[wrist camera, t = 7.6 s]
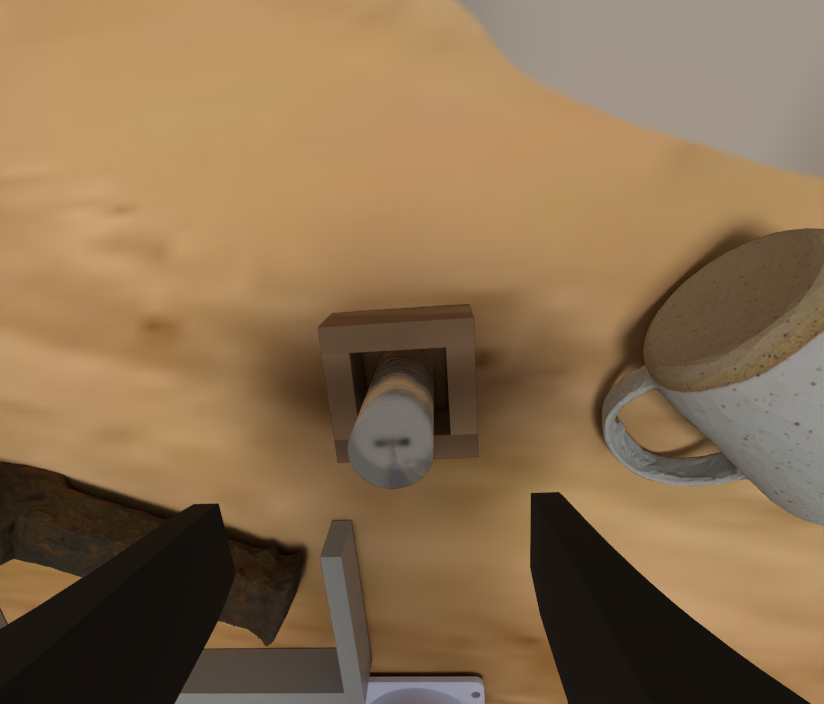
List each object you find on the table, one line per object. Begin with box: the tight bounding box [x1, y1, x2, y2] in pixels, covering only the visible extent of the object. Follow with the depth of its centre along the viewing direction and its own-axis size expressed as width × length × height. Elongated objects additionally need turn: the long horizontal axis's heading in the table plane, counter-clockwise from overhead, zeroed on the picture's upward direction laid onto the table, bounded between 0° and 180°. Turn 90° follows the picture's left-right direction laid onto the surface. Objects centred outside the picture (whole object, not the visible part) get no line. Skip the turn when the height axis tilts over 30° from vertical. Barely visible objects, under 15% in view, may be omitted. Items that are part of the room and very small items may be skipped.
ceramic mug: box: [602, 228, 824, 526], centre depth 15 cm, size 11×8×8 cm
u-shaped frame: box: [0, 520, 372, 704], centre depth 24 cm, size 10×23×2 cm, turn 94°
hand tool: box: [0, 462, 302, 646], centre depth 21 cm, size 19×4×5 cm, turn 67°
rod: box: [348, 349, 434, 489], centre depth 16 cm, size 3×3×7 cm
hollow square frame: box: [318, 304, 479, 463], centre depth 19 cm, size 6×6×2 cm
